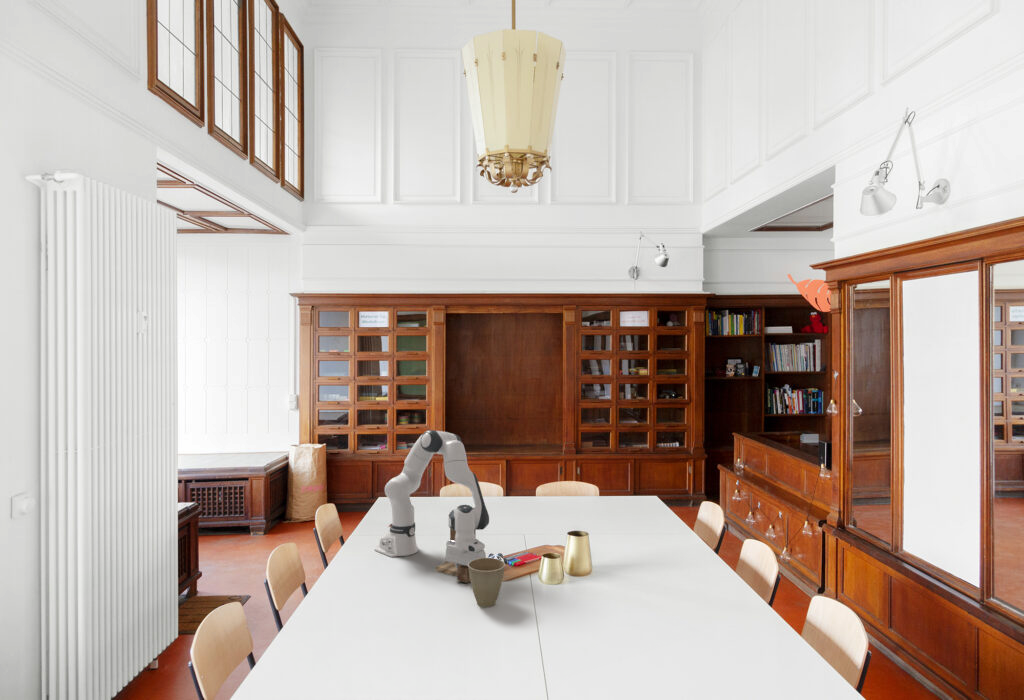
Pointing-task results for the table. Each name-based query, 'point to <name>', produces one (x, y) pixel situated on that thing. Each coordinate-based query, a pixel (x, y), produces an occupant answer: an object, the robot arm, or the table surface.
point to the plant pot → (486, 580)
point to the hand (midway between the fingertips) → (465, 574)
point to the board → (447, 568)
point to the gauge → (463, 574)
